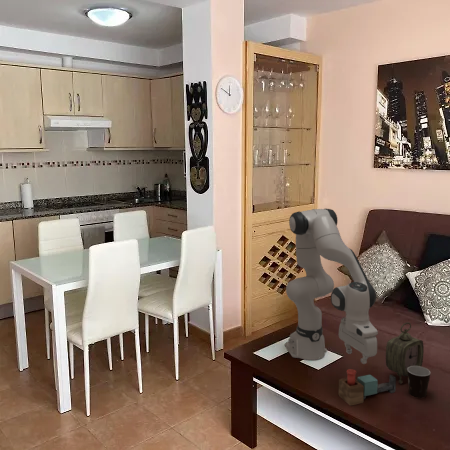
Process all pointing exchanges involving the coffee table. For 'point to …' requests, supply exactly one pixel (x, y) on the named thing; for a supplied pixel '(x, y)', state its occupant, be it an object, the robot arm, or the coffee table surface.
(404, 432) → the coffee table surface
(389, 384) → the rail
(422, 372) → the coffee mug
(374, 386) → the block
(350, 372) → the red rounded peg
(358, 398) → the wooden box
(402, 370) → the tabletop clock
